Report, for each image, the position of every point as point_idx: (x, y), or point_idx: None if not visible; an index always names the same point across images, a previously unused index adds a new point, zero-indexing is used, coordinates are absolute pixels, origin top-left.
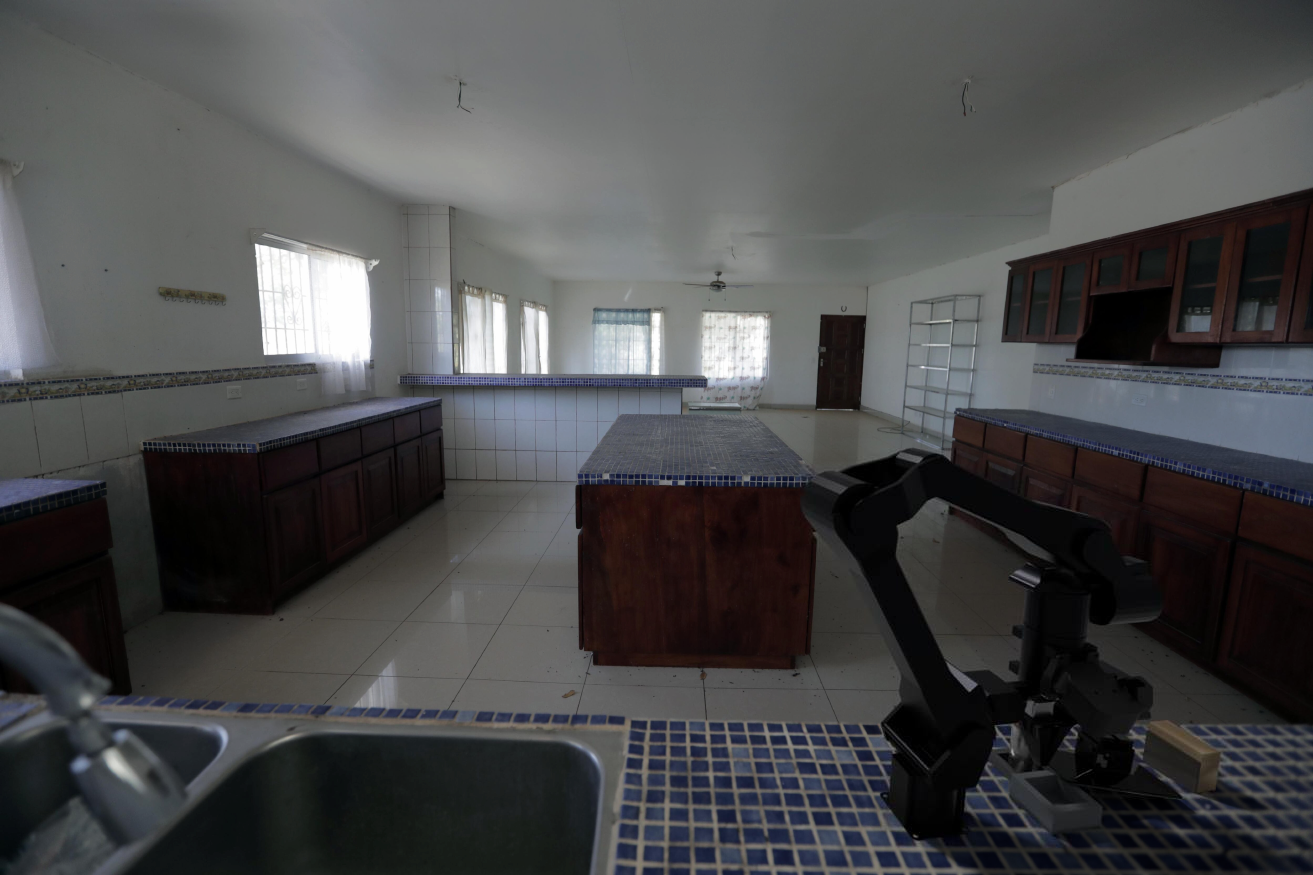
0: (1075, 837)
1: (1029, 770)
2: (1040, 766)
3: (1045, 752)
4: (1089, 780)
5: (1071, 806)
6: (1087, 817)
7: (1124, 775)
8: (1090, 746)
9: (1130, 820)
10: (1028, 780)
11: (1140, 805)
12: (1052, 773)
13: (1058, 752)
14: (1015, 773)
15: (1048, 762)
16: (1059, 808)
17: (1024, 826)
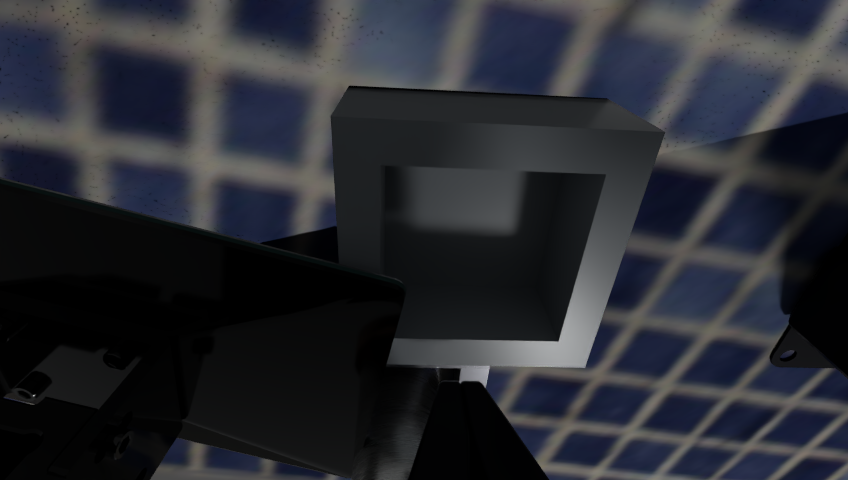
0: (507, 68)
1: (395, 374)
2: (478, 381)
3: (501, 460)
4: (261, 278)
5: (513, 154)
6: (432, 105)
7: (9, 281)
8: (111, 458)
9: (150, 102)
10: (528, 330)
11: (31, 168)
12: (392, 345)
13: (261, 430)
14: (475, 370)
15: (442, 395)
16: (595, 155)
17: (658, 166)
